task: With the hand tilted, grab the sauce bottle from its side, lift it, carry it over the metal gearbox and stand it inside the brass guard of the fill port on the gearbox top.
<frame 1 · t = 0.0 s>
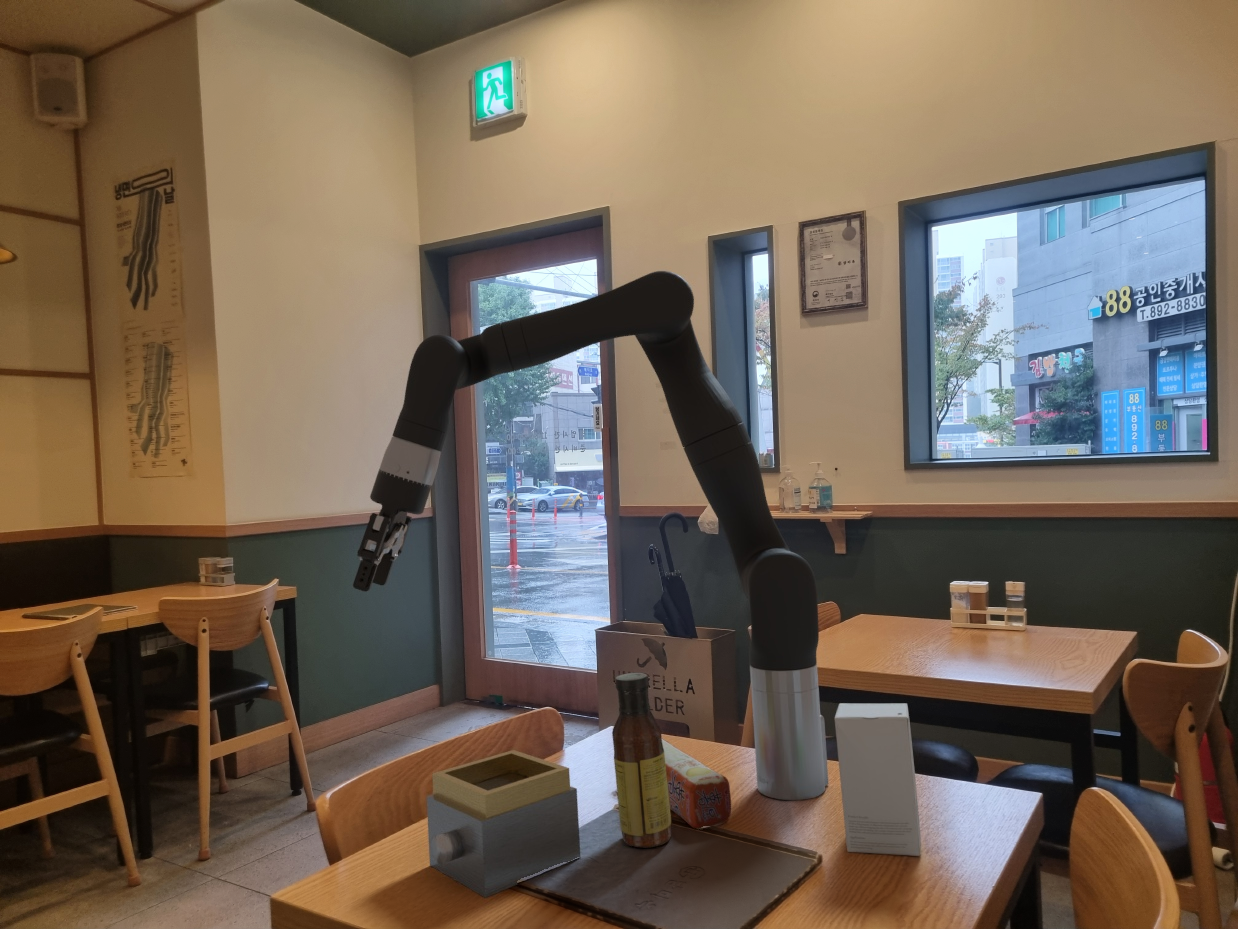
hand: (369, 586, 116), 31 cm above the table, tool tilted 20°, fingers open, 8 cm apart
snack package: (678, 804, 115), on the table
skincare box: (882, 846, 97), on the table
sauce bottle: (645, 841, 102), on the table
gearbox: (505, 861, 98), on the table
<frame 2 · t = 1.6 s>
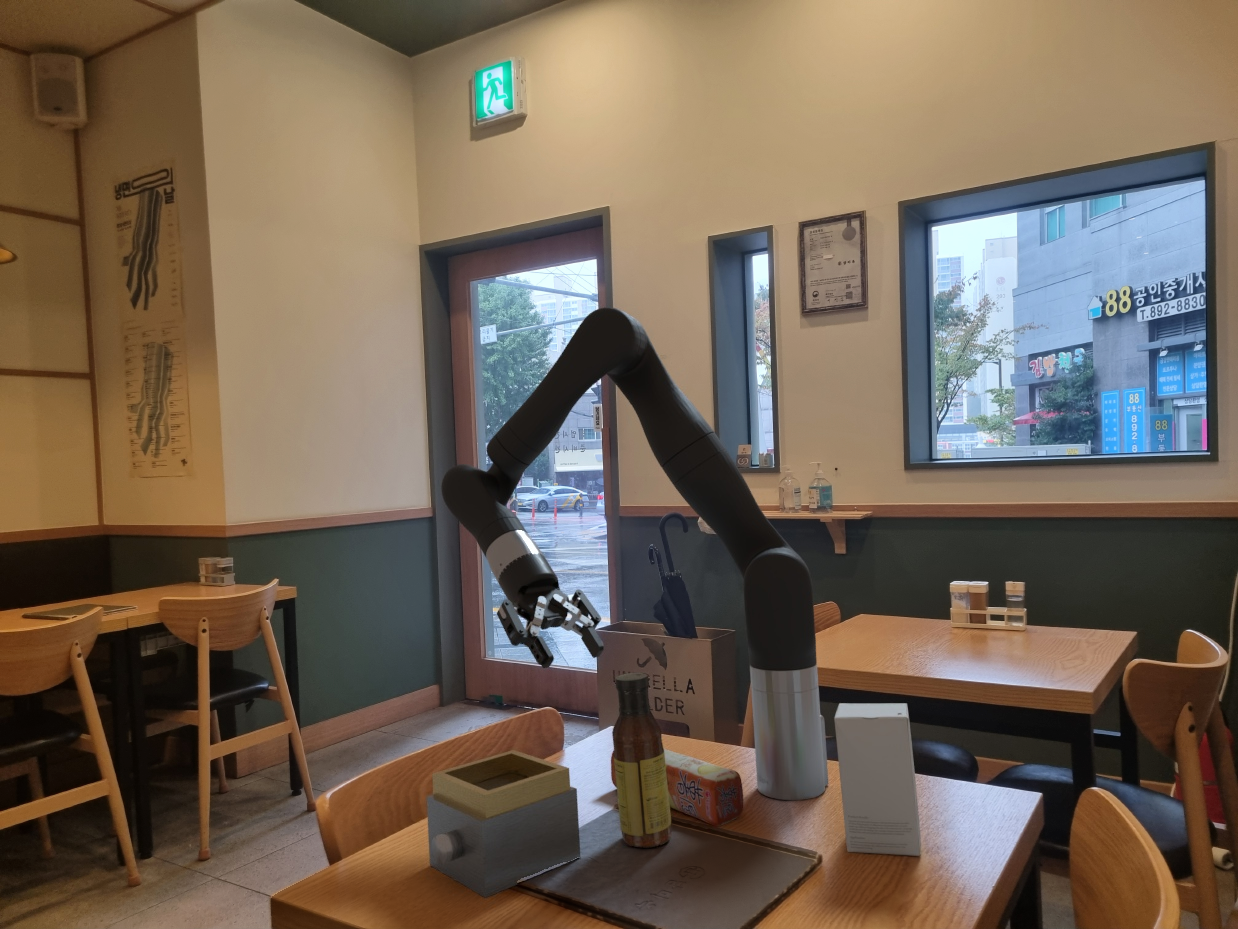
hand: (575, 658, 112), 21 cm above the table, tool tilted 45°, fingers open, 8 cm apart
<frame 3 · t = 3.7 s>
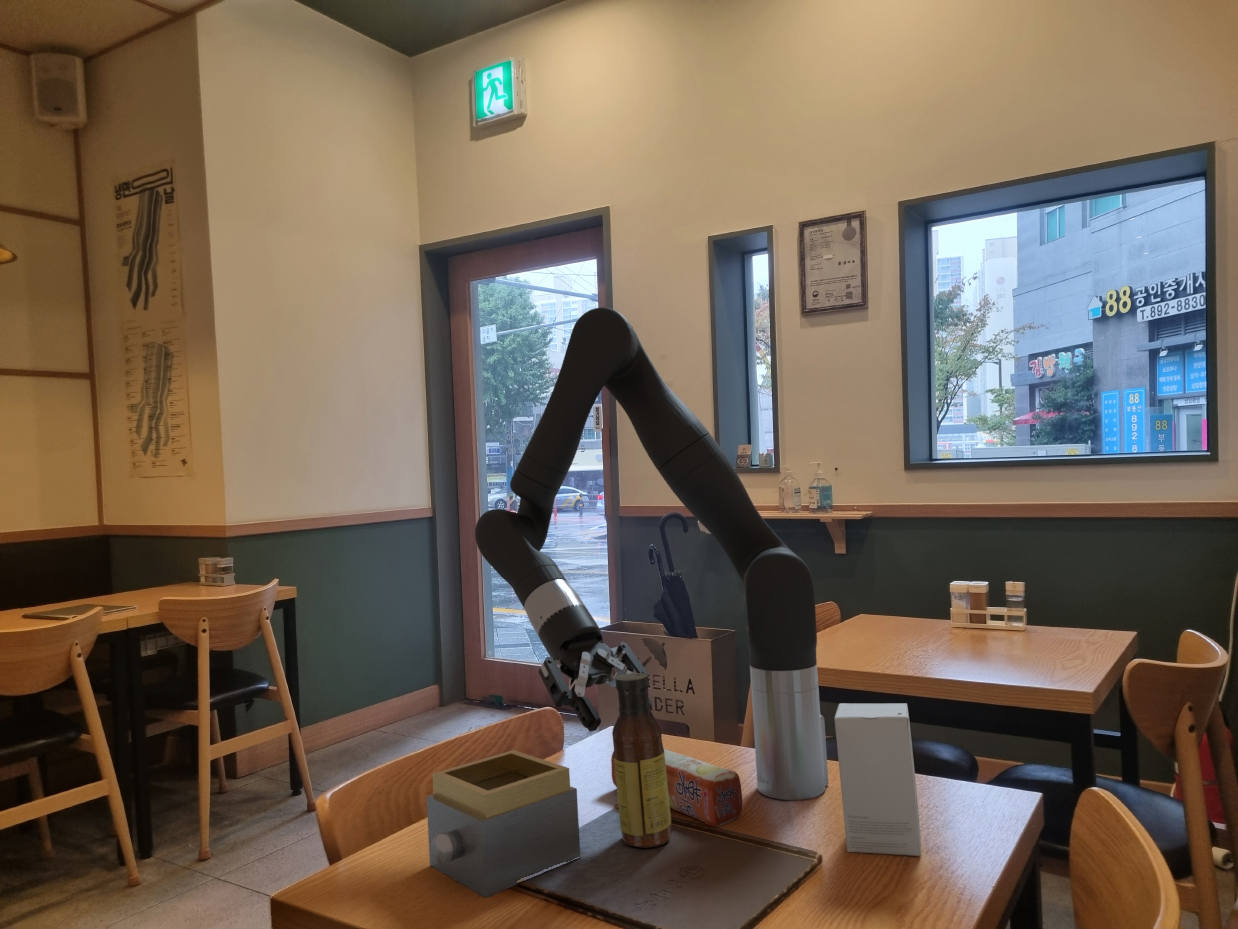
hand: (622, 719, 105), 14 cm above the table, tool tilted 45°, fingers open, 8 cm apart
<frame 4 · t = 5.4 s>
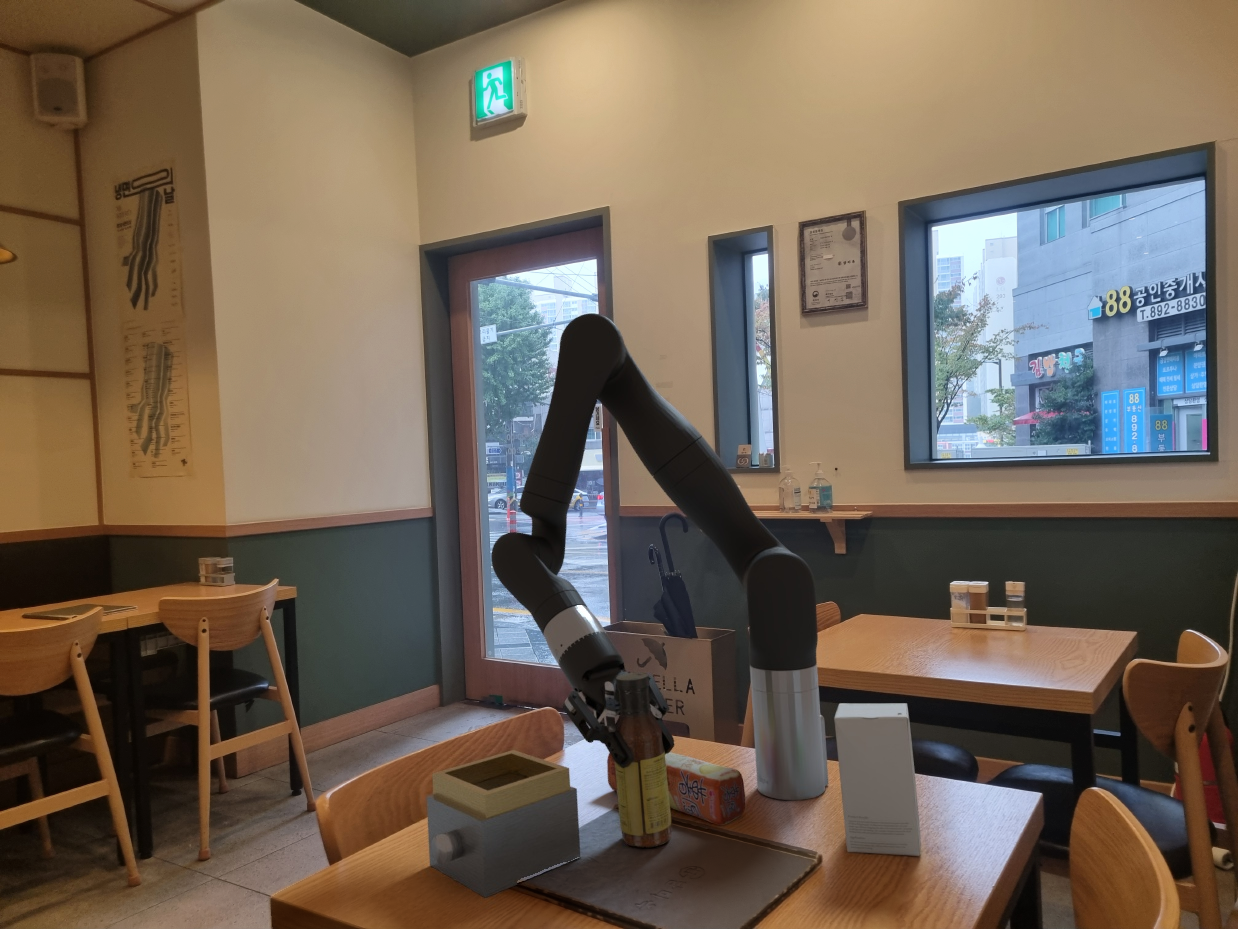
hand: (649, 756, 101), 10 cm above the table, tool tilted 45°, fingers closed on sauce bottle, 6 cm apart
sauce bottle: (645, 841, 102), on the table, touching gripper
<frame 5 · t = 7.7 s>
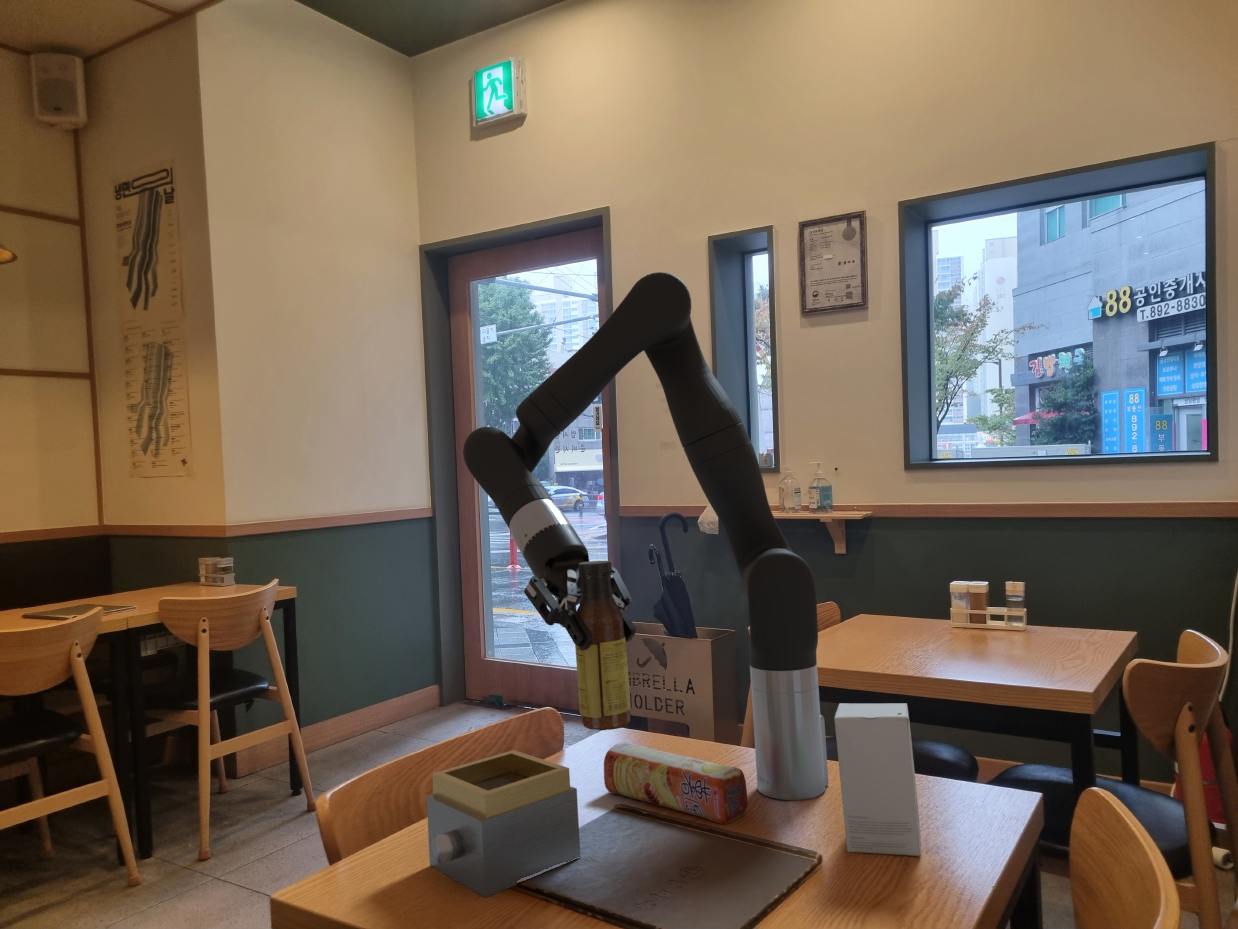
hand: (609, 641, 101), 24 cm above the table, tool tilted 45°, fingers closed on sauce bottle, 6 cm apart
sauce bottle: (604, 726, 102), point 14 cm above the table, touching gripper
when the fingers open (20 cm above the table, at t = 10.1 s): sauce bottle drops 1 cm, resting on gearbox.
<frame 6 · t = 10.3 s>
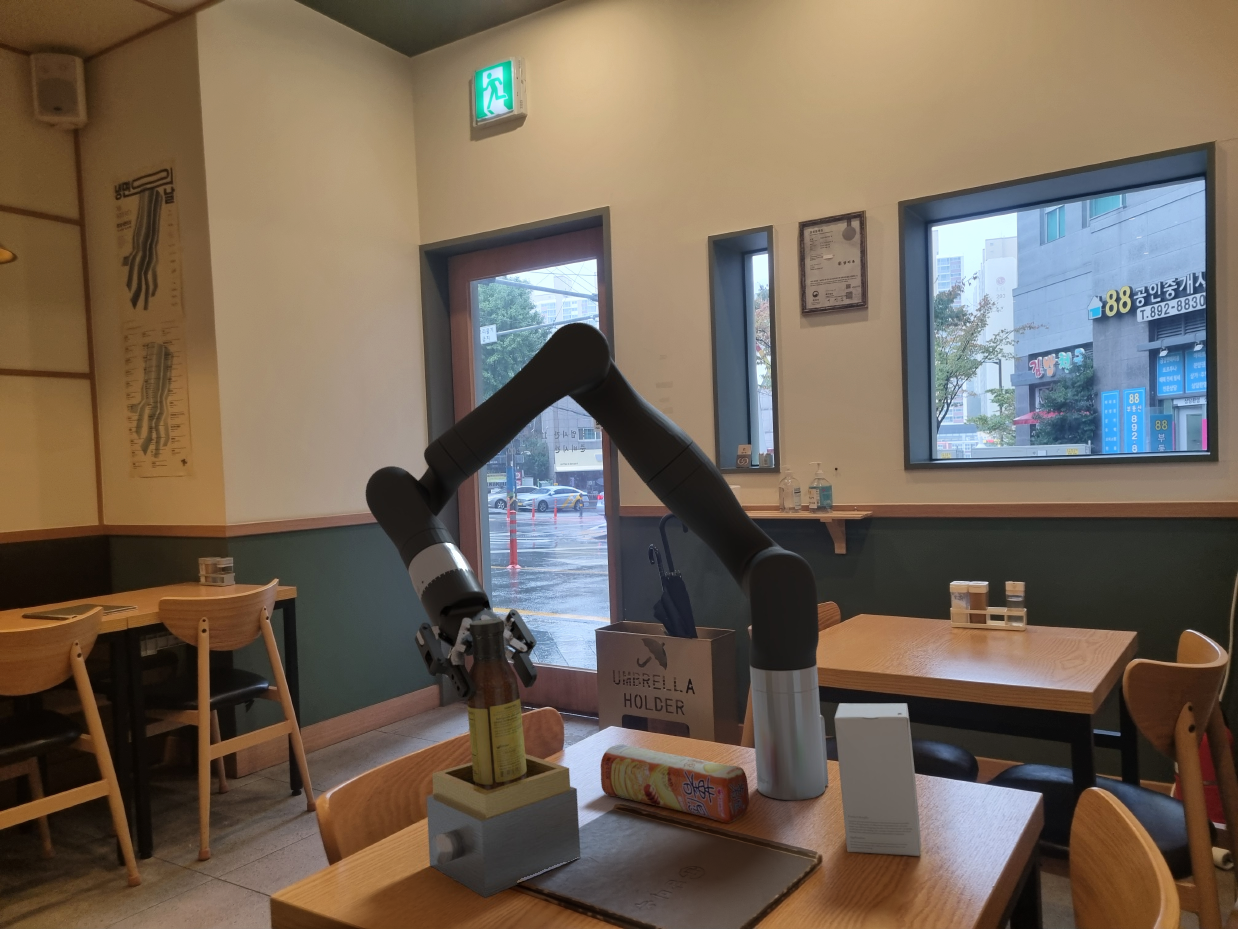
hand: (502, 689, 98), 20 cm above the table, tool tilted 45°, fingers open, 8 cm apart
sauce bottle: (499, 792, 99), point 8 cm above the table, touching gearbox
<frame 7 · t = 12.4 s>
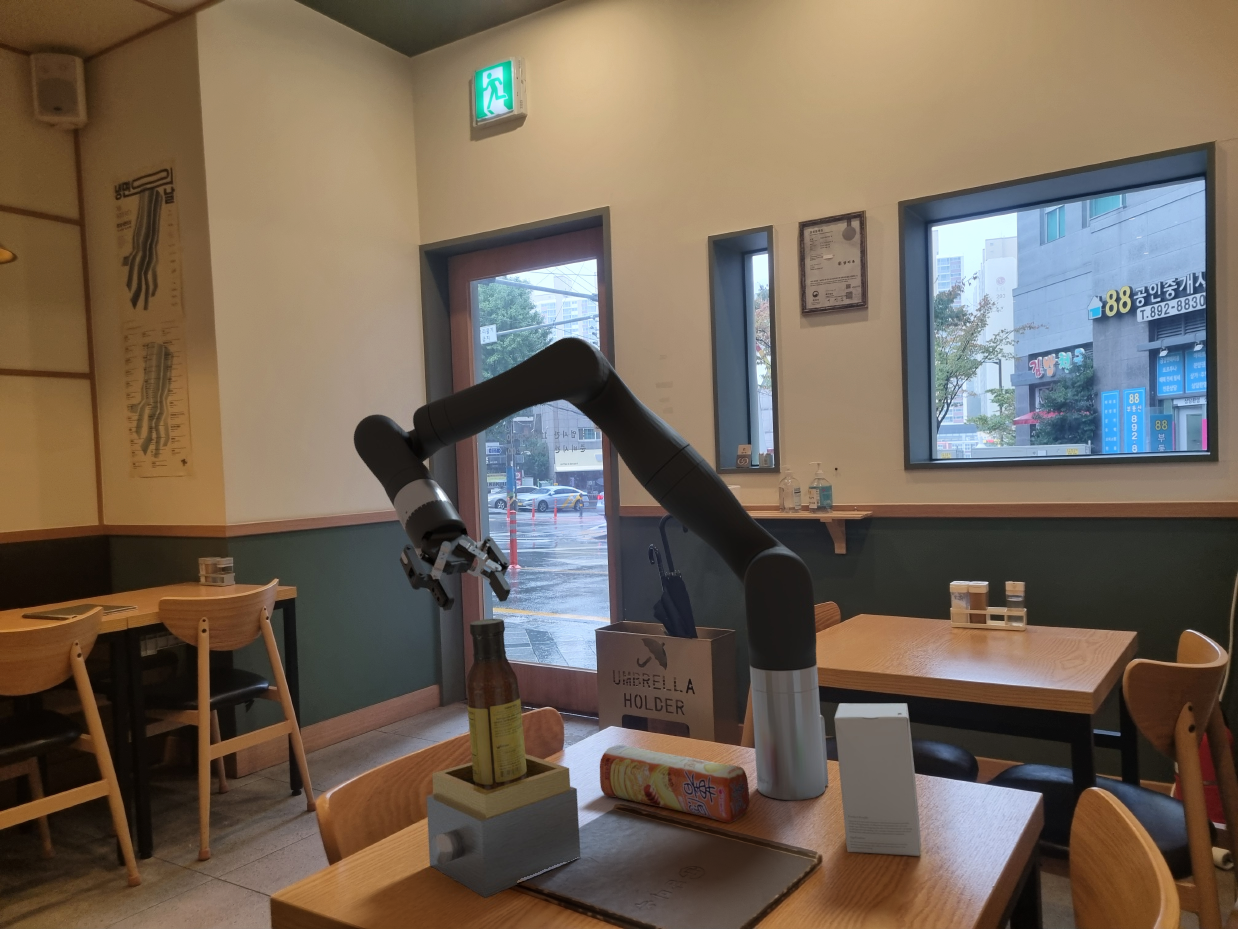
hand: (478, 601, 110), 29 cm above the table, tool tilted 45°, fingers open, 8 cm apart
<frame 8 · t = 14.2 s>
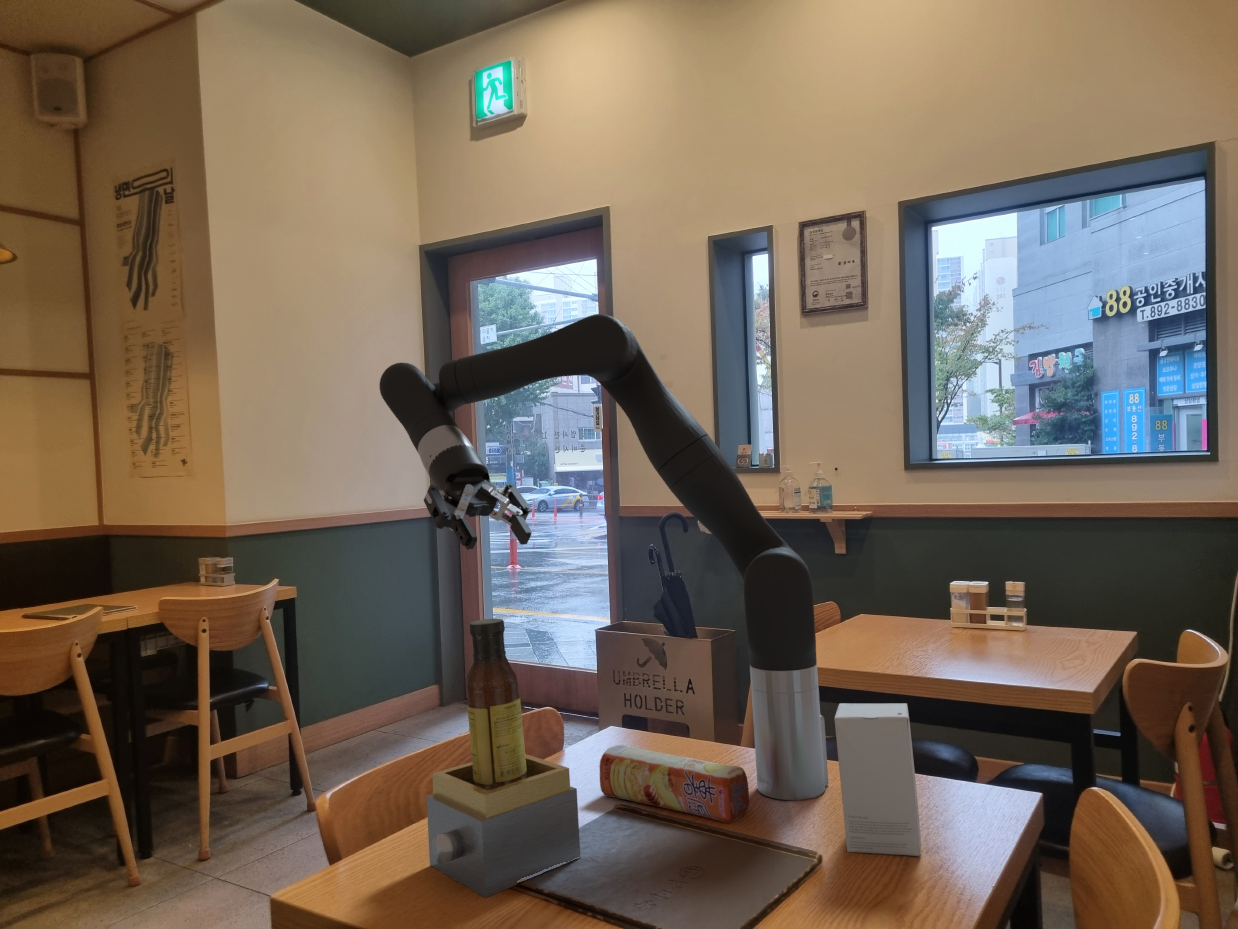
hand: (500, 542, 112), 37 cm above the table, tool tilted 45°, fingers open, 8 cm apart
at the end: sauce bottle inside the target area on the gearbox (0.3 cm from its centre), point 8.0 cm above the gearbox's base; sauce bottle tilted 0°; the gripper is holding nothing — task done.
